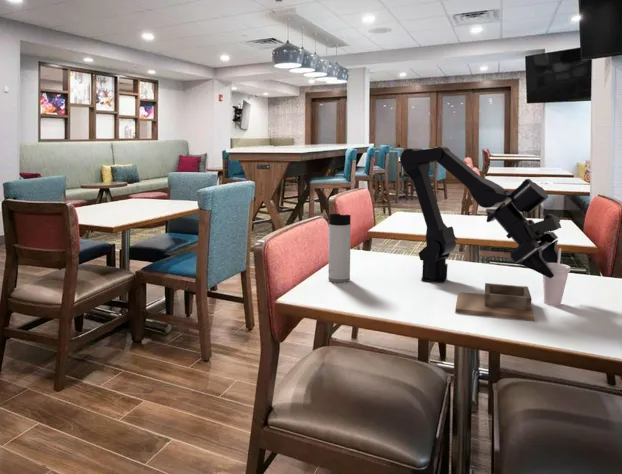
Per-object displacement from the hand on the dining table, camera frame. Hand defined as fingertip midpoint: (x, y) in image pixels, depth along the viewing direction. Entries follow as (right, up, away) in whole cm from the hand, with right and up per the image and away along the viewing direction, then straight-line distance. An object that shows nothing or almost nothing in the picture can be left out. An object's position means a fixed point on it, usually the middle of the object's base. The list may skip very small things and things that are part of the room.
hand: (558, 273), depth 119 cm
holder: (-16, -8, -1) cm, 18 cm away
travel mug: (-52, -4, +23) cm, 57 cm away
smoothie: (0, -8, +2) cm, 8 cm away
